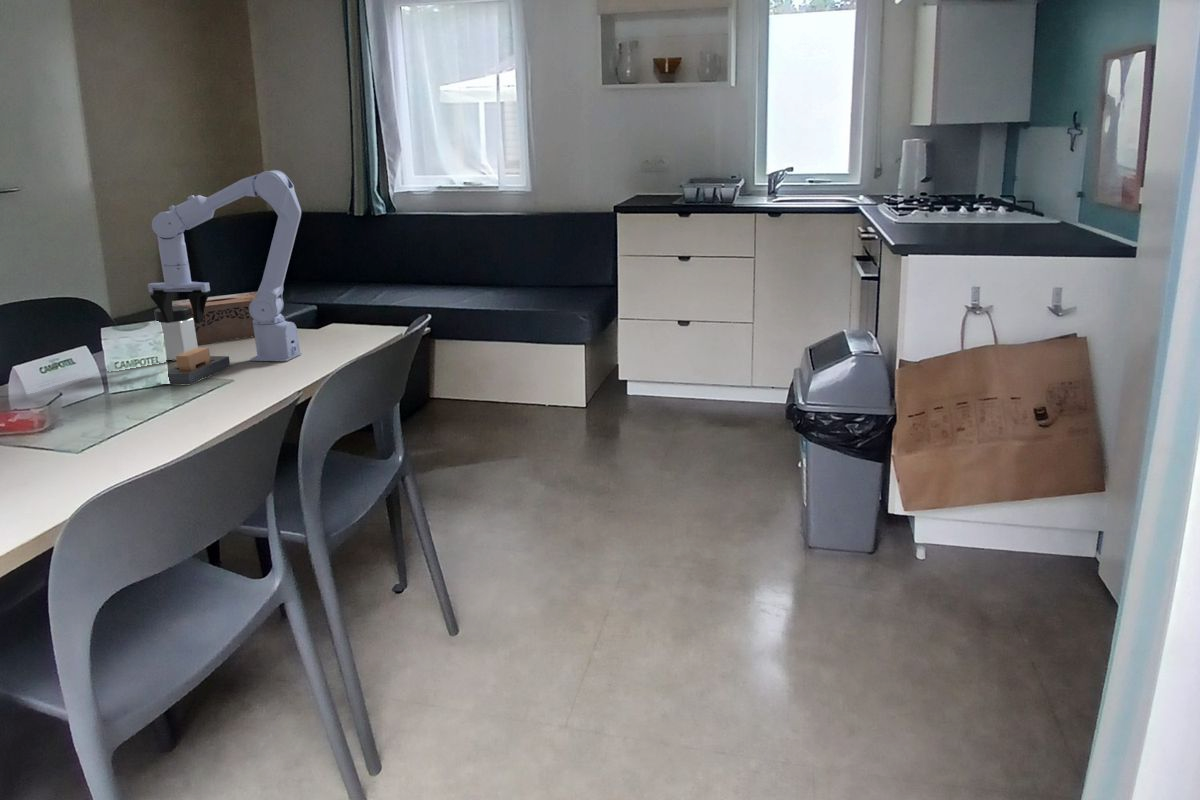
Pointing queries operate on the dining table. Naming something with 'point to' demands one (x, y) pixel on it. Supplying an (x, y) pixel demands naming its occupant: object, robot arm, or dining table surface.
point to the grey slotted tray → (198, 370)
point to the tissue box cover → (223, 317)
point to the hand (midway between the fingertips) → (184, 322)
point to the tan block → (193, 358)
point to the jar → (178, 331)
